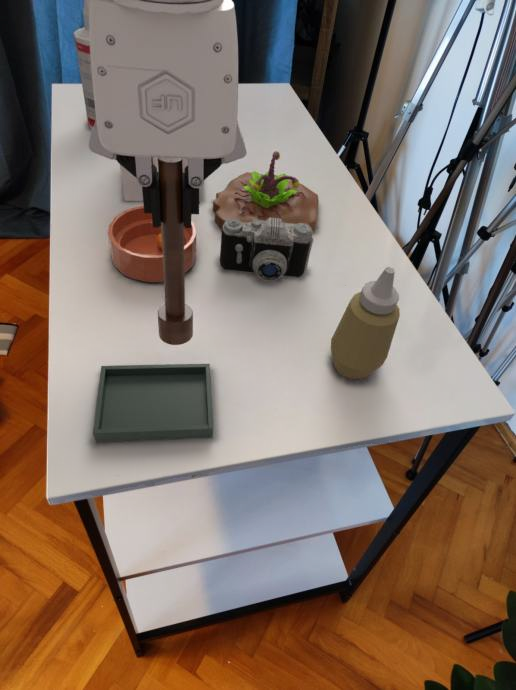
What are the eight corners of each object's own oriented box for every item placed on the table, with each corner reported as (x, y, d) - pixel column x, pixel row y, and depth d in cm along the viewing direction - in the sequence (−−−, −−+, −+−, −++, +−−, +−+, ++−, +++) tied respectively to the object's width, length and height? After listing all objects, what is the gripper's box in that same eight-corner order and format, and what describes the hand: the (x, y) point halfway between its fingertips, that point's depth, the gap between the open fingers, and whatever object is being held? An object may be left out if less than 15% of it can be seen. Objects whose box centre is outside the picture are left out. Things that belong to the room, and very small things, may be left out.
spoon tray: (95, 442, 59) (92, 433, 58) (103, 375, 66) (101, 365, 64) (212, 437, 62) (213, 428, 60) (209, 372, 68) (209, 363, 66)
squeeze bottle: (343, 393, 68) (381, 300, 55) (315, 351, 73) (343, 256, 59) (390, 377, 71) (437, 284, 57) (360, 337, 75) (397, 243, 62)
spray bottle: (114, 136, 108) (98, 2, 89) (82, 129, 108) (59, -6, 90) (128, 121, 113) (116, -9, 94) (98, 114, 114) (80, -16, 95)
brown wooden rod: (153, 340, 52) (139, 161, 39) (167, 320, 54) (159, 146, 42) (185, 348, 51) (181, 169, 39) (197, 328, 54) (198, 154, 41)
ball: (154, 251, 83) (151, 233, 82) (165, 248, 85) (162, 231, 84) (168, 251, 81) (165, 233, 80) (179, 248, 84) (176, 230, 83)
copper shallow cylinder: (109, 284, 77) (104, 257, 73) (115, 231, 86) (112, 204, 82) (197, 284, 79) (197, 258, 75) (194, 232, 88) (195, 206, 84)
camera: (217, 282, 80) (219, 231, 73) (220, 255, 85) (223, 206, 77) (306, 291, 81) (318, 242, 74) (305, 264, 86) (316, 216, 78)
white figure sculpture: (197, 162, 104) (199, 28, 85) (203, 212, 93) (206, 70, 74) (126, 160, 102) (111, 22, 83) (122, 211, 90) (104, 64, 71)
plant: (327, 198, 100) (340, 146, 92) (305, 254, 87) (316, 199, 79) (235, 174, 102) (239, 121, 94) (200, 225, 90) (200, 169, 81)
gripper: (13, -28, 27) (74, 244, 41) (298, -3, 29) (264, 246, 43) (38, -60, 32) (85, 193, 45) (280, -36, 34) (255, 197, 48)
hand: (172, 217), depth 44 cm, fingers closed on brown wooden rod, 2 cm apart
